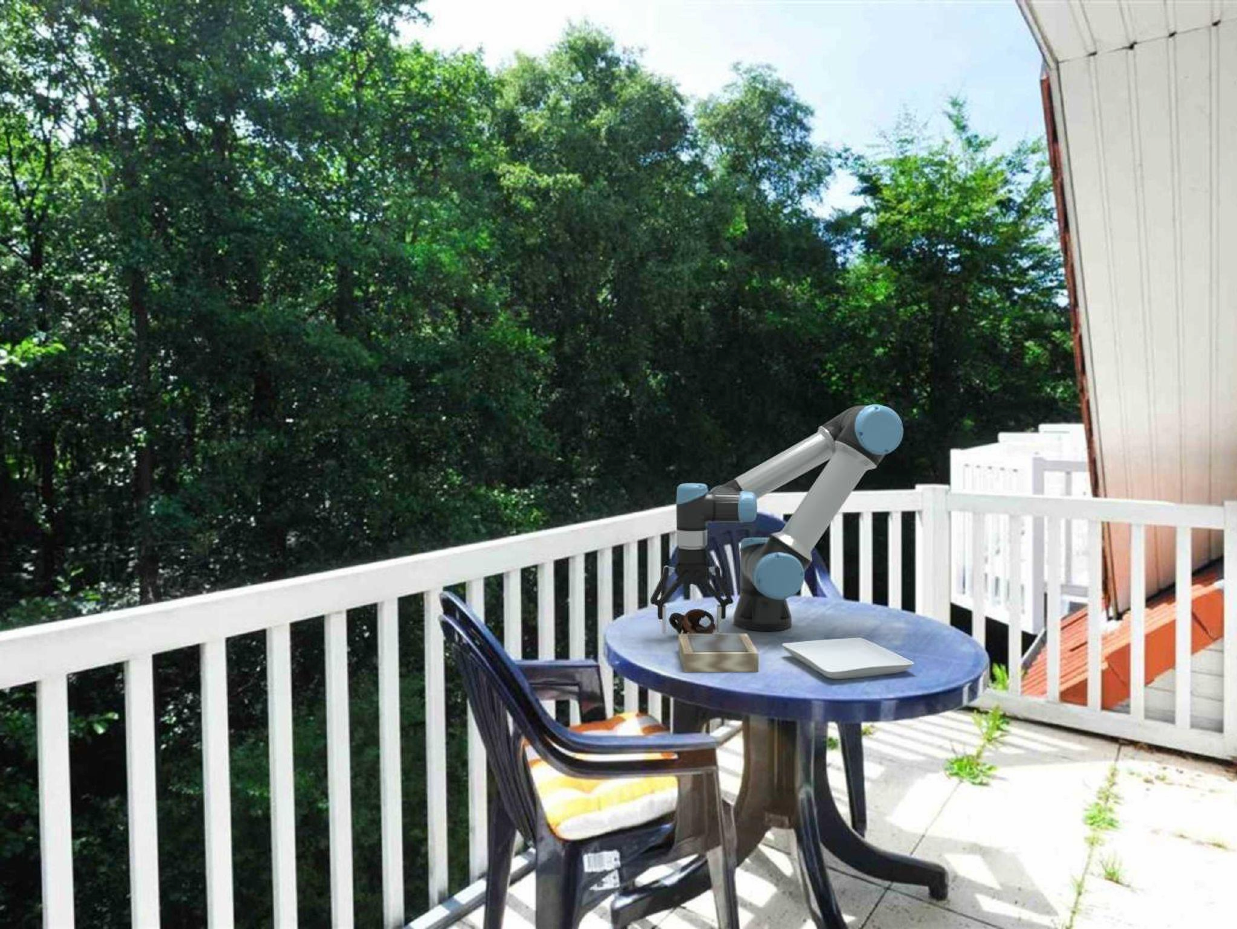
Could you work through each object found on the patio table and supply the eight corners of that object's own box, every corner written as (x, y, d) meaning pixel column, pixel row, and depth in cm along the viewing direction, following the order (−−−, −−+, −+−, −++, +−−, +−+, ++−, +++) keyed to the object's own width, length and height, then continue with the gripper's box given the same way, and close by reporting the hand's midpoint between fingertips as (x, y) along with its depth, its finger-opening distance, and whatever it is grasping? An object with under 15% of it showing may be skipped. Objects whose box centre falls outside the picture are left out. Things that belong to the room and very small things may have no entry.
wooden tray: (746, 650, 195) (746, 632, 195) (758, 671, 179) (758, 652, 179) (678, 650, 195) (678, 633, 195) (684, 671, 179) (684, 652, 179)
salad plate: (917, 677, 176) (917, 661, 176) (828, 687, 170) (828, 670, 170) (860, 650, 197) (861, 635, 197) (779, 657, 191) (779, 643, 190)
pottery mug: (716, 635, 211) (721, 611, 206) (706, 661, 203) (711, 637, 198) (671, 620, 213) (675, 597, 209) (659, 645, 206) (664, 621, 201)
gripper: (740, 543, 208) (739, 627, 209) (640, 544, 208) (640, 628, 209) (745, 548, 200) (744, 635, 202) (641, 549, 200) (641, 636, 201)
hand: (691, 632), depth 205 cm, fingers open, 13 cm apart
